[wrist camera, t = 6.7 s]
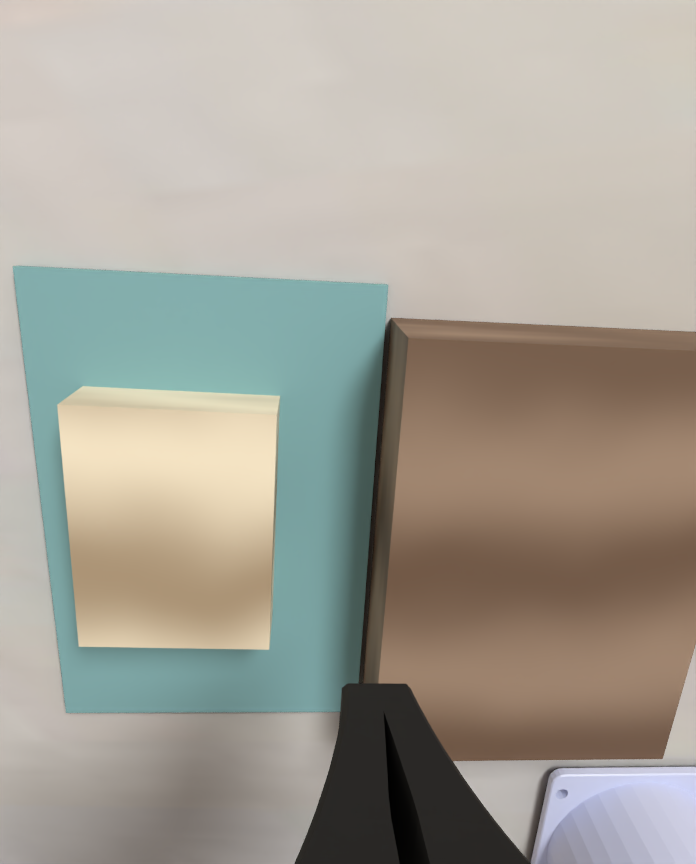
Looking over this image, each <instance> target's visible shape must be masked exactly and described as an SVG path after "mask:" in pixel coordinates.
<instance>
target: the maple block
mask: <svg viewBox="0 0 696 864" xmlns="http://www.w3.org/2000/svg"><path fill="white" fill-rule="evenodd" d="M57 408H58V419H59V431H60V442H61V453H62V464H63V475H64V487H65V498H66V509H67V520H68V531H69V543H70V554H71V565H72V576H73V587H74V599H75V610H76V621H77V632H78V643H79V647H130V648H194V649H257V650H269V647H270V636H271V625H272V614H273V588H274V559H275V529H276V499H277V470H278V440H279V410H280V396H272V395H252V394H232V393H212V392H191V391H171V390H151V389H131V388H110V387H90V386H82V387H81V388H80V389H78V390H77V391H75V392H74V393H73V394H71V395H70V396H68V397H67V398H66V399H64V400H63V401H61V402H60V403H59V404H57Z"/></svg>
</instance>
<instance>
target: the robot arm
mask: <svg viewBox="0 0 696 864" xmlns="http://www.w3.org/2000/svg"><path fill="white" fill-rule="evenodd" d="M295 864H696V767H621V768H560V769H556V770H554V771H553V772H552V773H551V774H550V776H549V779H548V784H547V788H546V793H545V798H544V803H543V807H542V812H541V817H540V821H539V826H538V831H537V836H536V840H535V845H534V850H533V854H532V859H531V863H530V862H529V861H528V860H527V859H526V857H525V856H524V855H523V854H522V853H521V852H520V851H519V849H518V848H517V847H516V846H515V845H514V843H513V842H512V841H511V840H510V839H509V837H508V836H507V835H506V834H505V833H504V831H503V830H502V829H501V828H500V826H499V825H498V824H497V823H496V821H495V820H494V819H493V818H492V816H491V815H490V814H489V812H488V811H487V810H486V808H485V807H484V806H483V804H482V803H481V802H480V800H479V799H478V798H477V796H476V795H475V793H474V792H473V791H472V789H471V788H470V786H469V785H468V784H467V782H466V781H465V779H464V778H463V776H462V775H461V773H460V772H459V770H458V769H457V767H456V766H455V764H454V763H453V761H452V760H451V758H450V757H449V755H448V754H447V752H446V750H445V749H444V747H443V746H442V744H441V742H440V741H439V739H438V738H437V736H436V734H435V732H434V731H433V729H432V727H431V726H430V724H429V722H428V720H427V719H426V717H425V715H424V713H423V711H422V710H421V708H420V706H419V704H418V702H417V700H416V698H415V696H414V694H413V692H412V690H411V688H410V687H409V686H408V685H407V684H392V683H347V684H346V685H345V686H344V687H342V692H341V707H340V723H339V731H338V737H337V741H336V745H335V749H334V753H333V757H332V761H331V765H330V769H329V772H328V775H327V779H326V782H325V785H324V788H323V791H322V794H321V797H320V800H319V803H318V806H317V809H316V812H315V814H314V817H313V820H312V822H311V825H310V828H309V830H308V833H307V835H306V838H305V840H304V843H303V845H302V847H301V850H300V852H299V855H298V857H297V859H296V861H295Z"/></svg>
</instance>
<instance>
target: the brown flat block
mask: <svg viewBox="0 0 696 864" xmlns="http://www.w3.org/2000/svg"><path fill="white" fill-rule="evenodd" d="M695 644H696V332H683V331H662V330H640V329H619V328H597V327H576V326H554V325H533V324H511V323H490V322H468V321H447V320H425V319H404V318H391V324H390V336H389V349H388V362H387V375H386V388H385V401H384V414H383V427H382V440H381V453H380V466H379V479H378V492H377V505H376V518H375V531H374V544H373V557H372V570H371V583H370V596H369V609H368V622H367V635H366V648H365V661H364V674H363V683H392V684H407V685H408V686H409V687H410V688H411V690H412V692H413V694H414V696H415V698H416V700H417V702H418V704H419V706H420V708H421V710H422V711H423V713H424V715H425V717H426V719H427V720H428V722H429V724H430V726H431V727H432V729H433V731H434V732H435V734H436V736H437V738H438V739H439V741H440V742H441V744H442V746H443V747H444V749H445V750H446V752H447V754H448V755H449V757H450V758H451V760H452V761H487V760H591V759H663V756H664V752H665V749H666V745H667V742H668V738H669V735H670V731H671V728H672V724H673V721H674V717H675V714H676V710H677V707H678V703H679V700H680V696H681V693H682V689H683V686H684V683H685V679H686V676H687V672H688V669H689V665H690V662H691V658H692V655H693V651H694V648H695Z"/></svg>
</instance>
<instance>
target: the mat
mask: <svg viewBox="0 0 696 864" xmlns="http://www.w3.org/2000/svg"><path fill="white" fill-rule="evenodd" d="M13 272H14V281H15V289H16V297H17V306H18V314H19V322H20V331H21V339H22V348H23V356H24V364H25V373H26V381H27V389H28V398H29V406H30V414H31V423H32V431H33V440H34V448H35V456H36V465H37V473H38V481H39V490H40V498H41V506H42V515H43V523H44V532H45V540H46V548H47V557H48V565H49V573H50V582H51V590H52V598H53V607H54V615H55V624H56V632H57V640H58V649H59V657H60V665H61V674H62V682H63V690H64V699H65V707H66V713H153V712H340V707H341V692H342V687H344V686H345V685H346V684H347V683H359V671H360V658H361V644H362V631H363V617H364V604H365V591H366V577H367V564H368V550H369V537H370V523H371V510H372V496H373V483H374V469H375V456H376V443H377V429H378V416H379V402H380V389H381V375H382V362H383V348H384V335H385V321H386V308H387V295H388V285H387V284H368V283H348V282H329V281H309V280H289V279H269V278H250V277H230V276H210V275H191V274H171V273H151V272H131V271H112V270H92V269H72V268H53V267H33V266H13ZM82 386H90V387H110V388H131V389H151V390H171V391H191V392H212V393H232V394H252V395H272V396H280V410H279V440H278V470H277V499H276V529H275V559H274V588H273V614H272V625H271V636H270V647H269V650H257V649H194V648H130V647H79V643H78V632H77V621H76V610H75V599H74V587H73V576H72V565H71V554H70V543H69V531H68V520H67V509H66V498H65V487H64V475H63V464H62V453H61V442H60V431H59V419H58V408H57V404H59V403H60V402H61V401H63V400H64V399H66V398H67V397H68V396H70V395H71V394H73V393H74V392H75V391H77V390H78V389H80V388H81V387H82Z"/></svg>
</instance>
